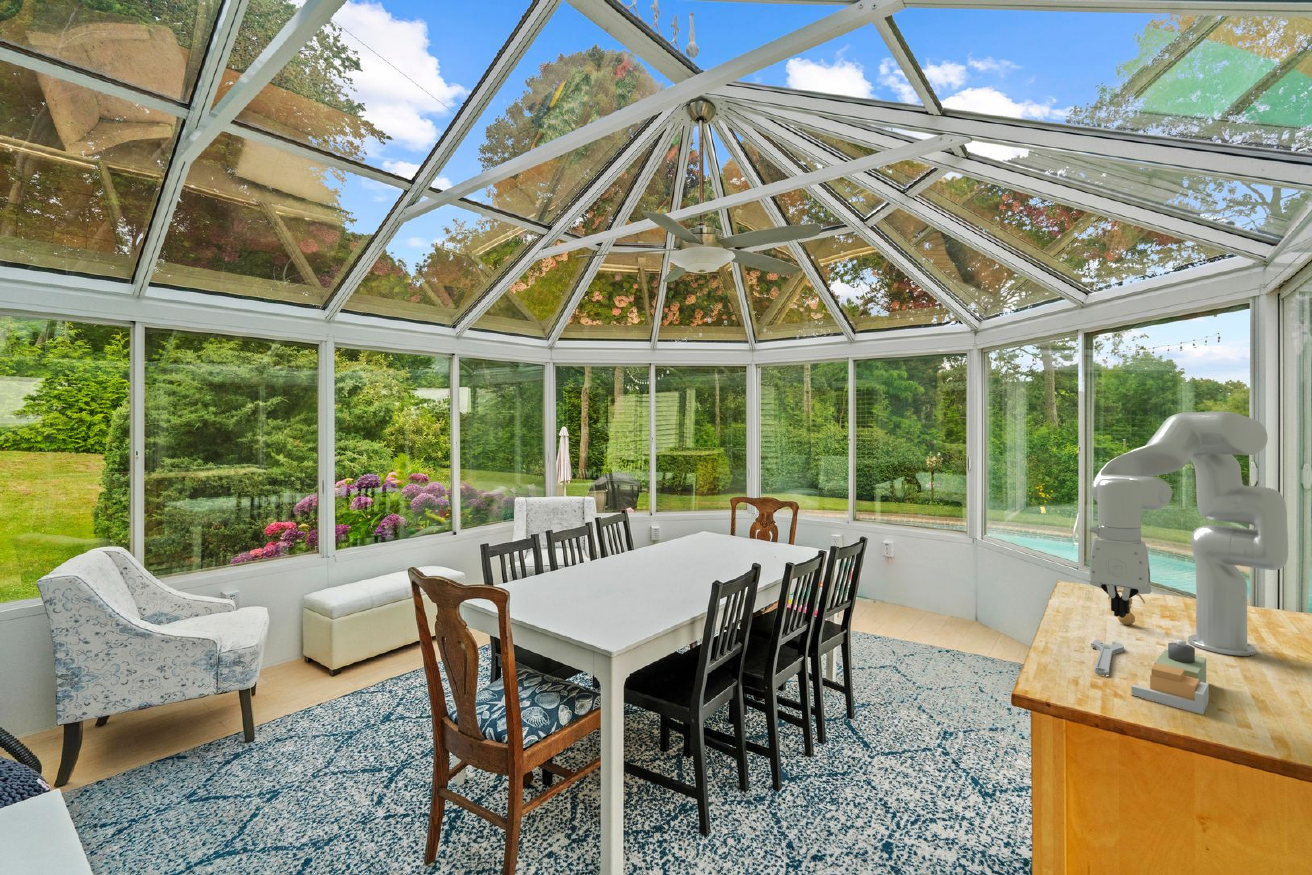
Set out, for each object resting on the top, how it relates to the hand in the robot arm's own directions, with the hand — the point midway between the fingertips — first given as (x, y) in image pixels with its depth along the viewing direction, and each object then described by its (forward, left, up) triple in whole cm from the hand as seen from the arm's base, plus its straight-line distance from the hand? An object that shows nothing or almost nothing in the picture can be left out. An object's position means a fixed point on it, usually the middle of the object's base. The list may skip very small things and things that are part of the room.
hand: (1120, 615), depth 129 cm
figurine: (-49, -8, -16) cm, 52 cm away
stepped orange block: (+1, +9, -16) cm, 18 cm away
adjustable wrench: (-15, -7, -16) cm, 23 cm away
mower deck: (-5, +8, -15) cm, 18 cm away
